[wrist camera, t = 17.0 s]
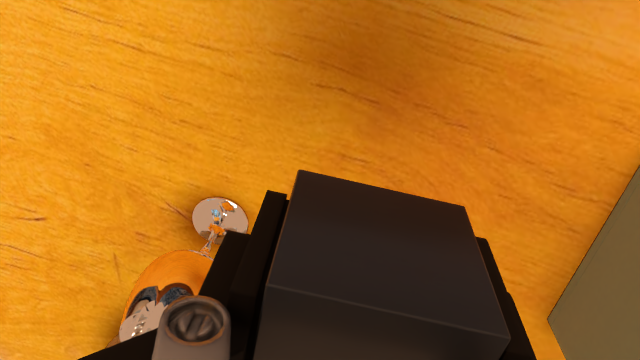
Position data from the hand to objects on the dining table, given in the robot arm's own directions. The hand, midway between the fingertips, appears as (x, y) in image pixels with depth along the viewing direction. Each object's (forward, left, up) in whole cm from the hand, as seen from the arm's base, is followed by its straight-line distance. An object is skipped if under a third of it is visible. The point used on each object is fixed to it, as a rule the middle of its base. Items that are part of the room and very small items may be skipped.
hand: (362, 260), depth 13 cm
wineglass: (+15, +5, -19) cm, 25 cm away
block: (0, 0, 0) cm, 0 cm away
